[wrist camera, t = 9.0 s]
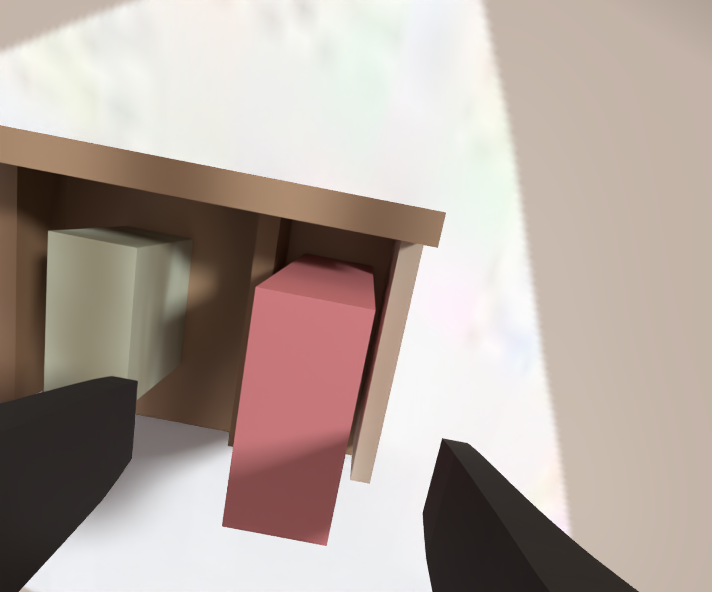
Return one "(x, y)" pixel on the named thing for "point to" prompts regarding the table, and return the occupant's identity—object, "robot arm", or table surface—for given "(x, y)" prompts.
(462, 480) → the robot arm
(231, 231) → the book rack
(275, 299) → the pink block
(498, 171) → the table surface
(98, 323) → the sage block
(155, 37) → the table surface
